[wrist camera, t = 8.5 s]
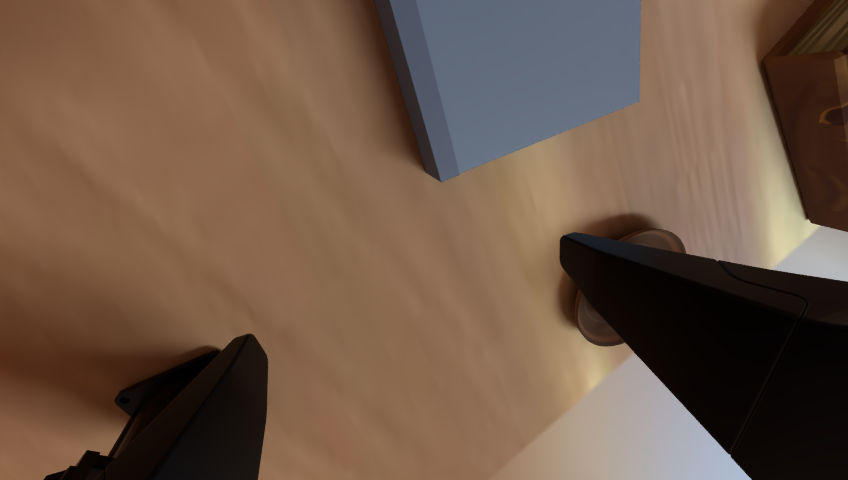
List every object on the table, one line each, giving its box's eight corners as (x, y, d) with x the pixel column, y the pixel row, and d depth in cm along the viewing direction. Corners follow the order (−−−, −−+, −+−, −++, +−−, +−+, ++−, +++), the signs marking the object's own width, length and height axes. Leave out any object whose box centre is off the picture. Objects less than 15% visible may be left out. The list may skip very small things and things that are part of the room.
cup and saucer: (670, 292, 34) (738, 327, 29) (577, 353, 33) (629, 402, 28) (661, 197, 28) (743, 219, 23) (548, 268, 28) (606, 309, 22)
